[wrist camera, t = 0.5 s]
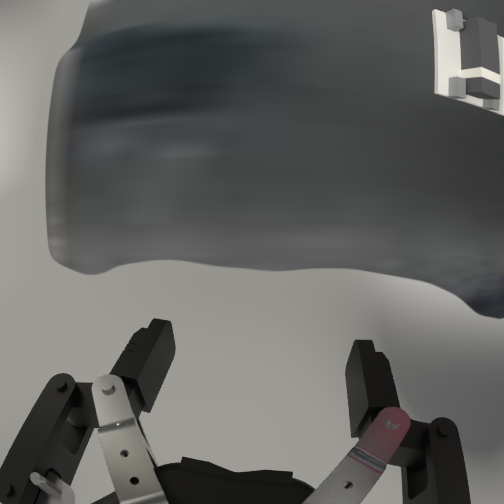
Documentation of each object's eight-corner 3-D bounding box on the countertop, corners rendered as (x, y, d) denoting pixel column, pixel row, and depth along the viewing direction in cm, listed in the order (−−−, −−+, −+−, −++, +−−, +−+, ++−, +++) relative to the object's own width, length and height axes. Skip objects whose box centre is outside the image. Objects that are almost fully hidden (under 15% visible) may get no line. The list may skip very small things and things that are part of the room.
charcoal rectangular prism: (458, 23, 22) (477, 15, 18) (476, 31, 22) (496, 24, 18) (460, 92, 27) (481, 91, 22) (478, 98, 26) (500, 99, 22)
